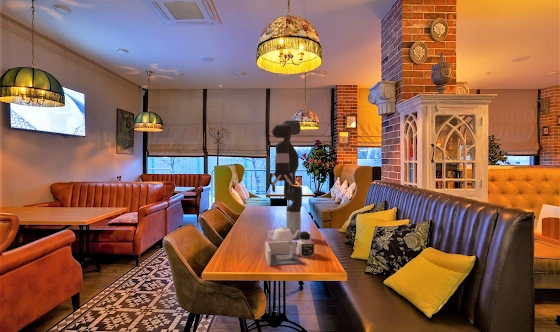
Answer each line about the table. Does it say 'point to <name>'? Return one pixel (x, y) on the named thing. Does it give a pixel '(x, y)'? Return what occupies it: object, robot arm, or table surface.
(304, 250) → the medicine bottle
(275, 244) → the corner walls
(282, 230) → the teapot
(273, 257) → the slate mat
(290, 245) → the bracket
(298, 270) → the table surface
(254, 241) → the table surface
